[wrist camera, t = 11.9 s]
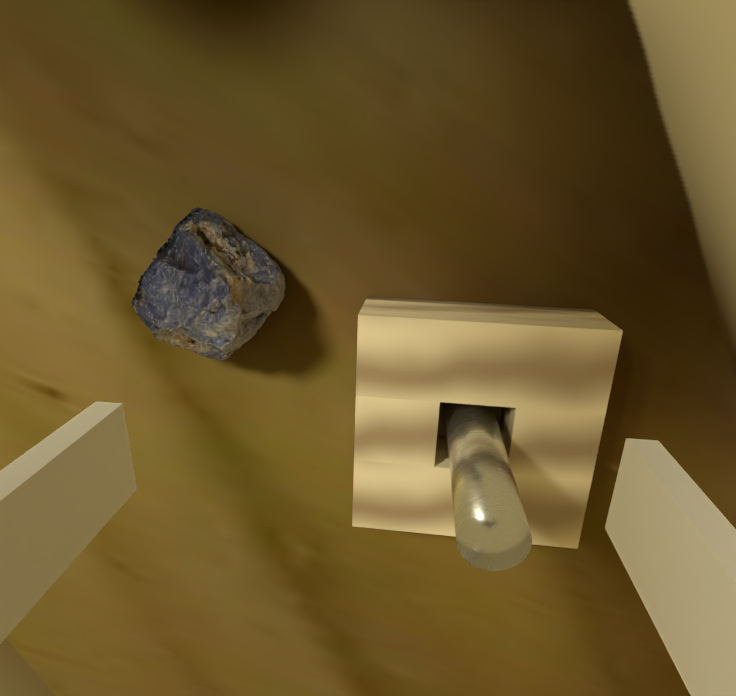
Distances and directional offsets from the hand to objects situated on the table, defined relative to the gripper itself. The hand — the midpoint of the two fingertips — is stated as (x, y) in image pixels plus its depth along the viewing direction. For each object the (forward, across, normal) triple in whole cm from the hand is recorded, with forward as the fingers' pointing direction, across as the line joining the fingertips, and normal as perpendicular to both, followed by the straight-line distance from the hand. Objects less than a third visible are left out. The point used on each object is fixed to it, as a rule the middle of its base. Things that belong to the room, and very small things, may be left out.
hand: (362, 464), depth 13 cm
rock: (+29, -15, -3) cm, 32 cm away
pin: (+27, +6, -12) cm, 30 cm away
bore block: (+28, +6, -12) cm, 31 cm away
